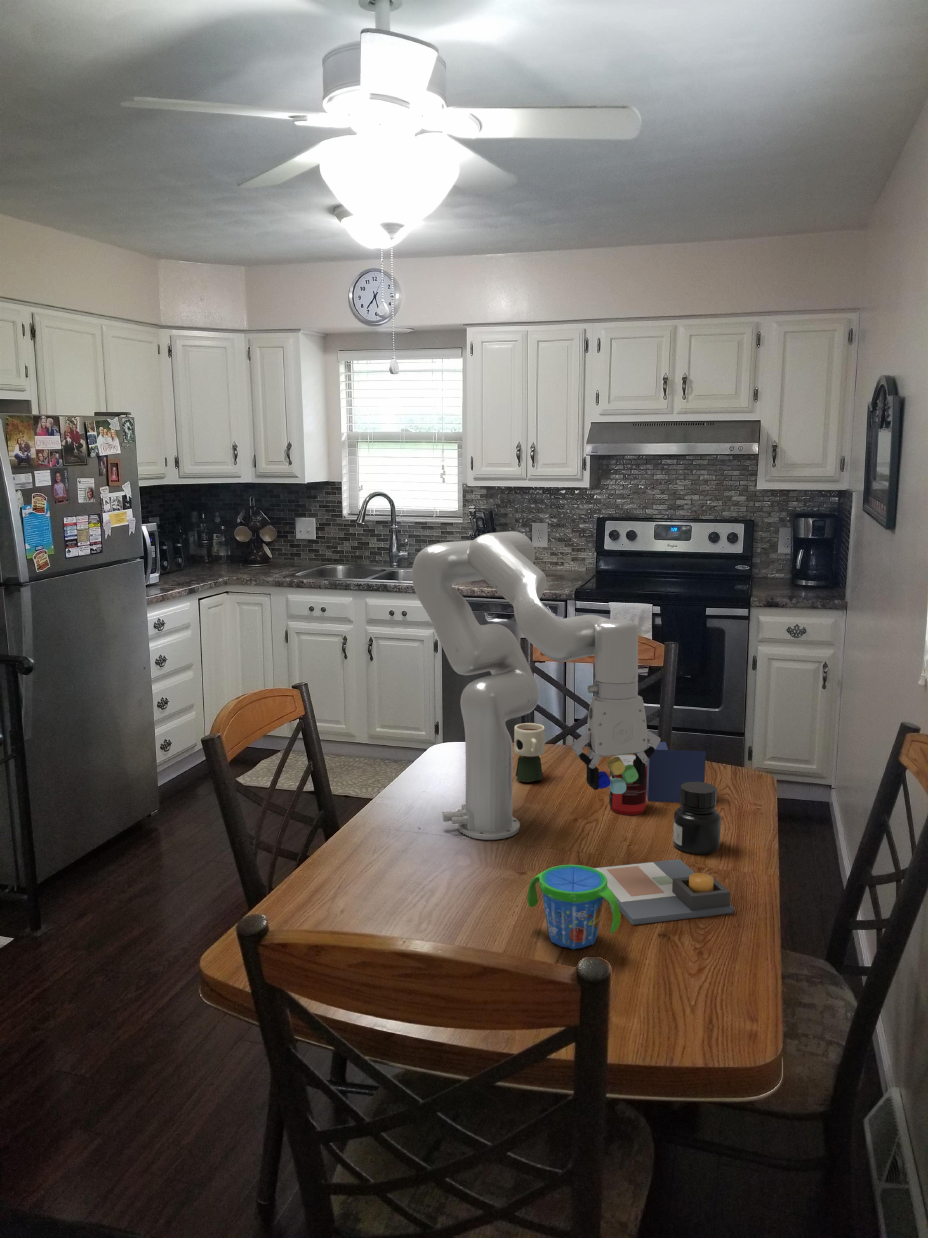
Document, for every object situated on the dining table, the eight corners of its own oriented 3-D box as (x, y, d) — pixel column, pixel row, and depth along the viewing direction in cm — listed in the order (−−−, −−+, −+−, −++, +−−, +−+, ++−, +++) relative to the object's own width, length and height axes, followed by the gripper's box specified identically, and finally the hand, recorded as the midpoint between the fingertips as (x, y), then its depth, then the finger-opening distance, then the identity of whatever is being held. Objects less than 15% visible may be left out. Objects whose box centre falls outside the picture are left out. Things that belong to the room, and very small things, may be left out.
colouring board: (632, 925, 153) (633, 904, 153) (588, 873, 172) (588, 855, 172) (733, 913, 157) (734, 893, 157) (679, 864, 176) (680, 846, 176)
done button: (695, 898, 157) (696, 884, 157) (684, 887, 161) (684, 874, 161) (717, 895, 158) (718, 881, 158) (705, 885, 162) (706, 872, 162)
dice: (596, 795, 169) (596, 760, 168) (592, 790, 171) (592, 756, 170) (639, 792, 170) (640, 758, 169) (635, 788, 172) (635, 754, 171)
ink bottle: (682, 833, 191) (684, 776, 189) (725, 842, 187) (728, 784, 185) (666, 850, 183) (668, 790, 181) (711, 860, 178) (714, 799, 177)
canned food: (620, 800, 210) (621, 752, 208) (652, 808, 205) (654, 759, 203) (602, 809, 204) (603, 760, 203) (634, 818, 199) (636, 768, 198)
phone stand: (696, 785, 220) (698, 735, 218) (703, 803, 208) (705, 751, 206) (643, 783, 221) (645, 734, 219) (648, 801, 210) (649, 749, 208)
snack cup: (512, 934, 150) (512, 873, 149) (553, 912, 158) (554, 853, 156) (593, 970, 140) (594, 905, 138) (633, 944, 147) (635, 882, 146)
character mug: (509, 773, 228) (509, 721, 226) (538, 772, 229) (538, 720, 227) (519, 788, 218) (520, 734, 215) (549, 787, 219) (550, 732, 217)
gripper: (577, 698, 162) (578, 796, 165) (671, 690, 166) (669, 787, 169) (562, 689, 169) (563, 783, 172) (652, 682, 174) (651, 774, 176)
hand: (616, 785), depth 170 cm, fingers closed on dice, 8 cm apart
